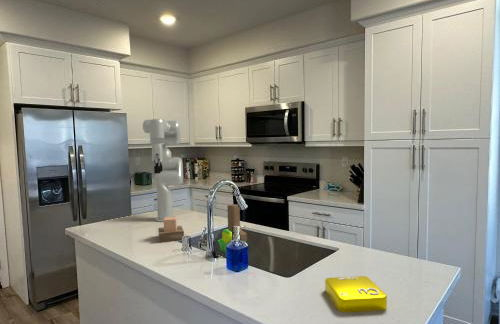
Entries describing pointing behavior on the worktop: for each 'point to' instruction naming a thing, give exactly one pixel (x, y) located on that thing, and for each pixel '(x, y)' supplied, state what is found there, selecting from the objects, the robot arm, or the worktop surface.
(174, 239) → the walnut base block
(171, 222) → the terracotta cube
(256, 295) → the worktop surface
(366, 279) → the element tile
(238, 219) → the wooden block
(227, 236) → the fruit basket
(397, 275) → the worktop surface
